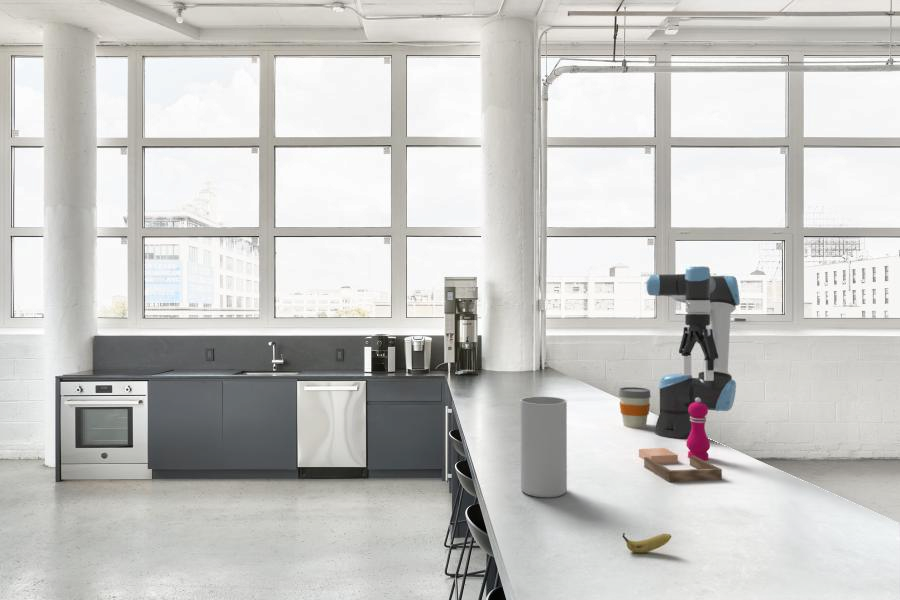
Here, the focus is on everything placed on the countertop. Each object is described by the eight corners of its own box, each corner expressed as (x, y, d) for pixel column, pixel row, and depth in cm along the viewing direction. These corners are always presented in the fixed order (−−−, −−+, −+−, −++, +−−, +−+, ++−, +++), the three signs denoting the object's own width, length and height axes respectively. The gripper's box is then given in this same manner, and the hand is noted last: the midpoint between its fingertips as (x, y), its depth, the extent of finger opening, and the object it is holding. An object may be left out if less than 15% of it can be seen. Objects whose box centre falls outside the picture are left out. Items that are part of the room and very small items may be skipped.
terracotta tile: (664, 456, 204) (664, 448, 204) (677, 464, 196) (677, 454, 196) (638, 457, 203) (638, 448, 203) (651, 465, 194) (651, 455, 194)
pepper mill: (685, 459, 200) (685, 398, 200) (687, 454, 206) (687, 395, 206) (708, 462, 196) (708, 400, 196) (710, 456, 203) (710, 396, 203)
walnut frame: (693, 464, 193) (693, 455, 193) (721, 479, 177) (721, 469, 177) (644, 466, 191) (644, 457, 191) (668, 482, 175) (668, 471, 175)
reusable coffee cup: (612, 424, 255) (612, 388, 255) (635, 421, 260) (635, 386, 260) (633, 430, 244) (633, 392, 244) (657, 427, 249) (657, 390, 249)
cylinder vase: (531, 500, 160) (531, 405, 160) (514, 486, 172) (513, 397, 172) (574, 496, 163) (574, 403, 163) (554, 482, 175) (554, 395, 175)
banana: (669, 550, 128) (669, 531, 128) (673, 555, 126) (672, 536, 126) (620, 549, 129) (620, 530, 129) (623, 554, 126) (623, 535, 126)
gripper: (668, 312, 213) (668, 373, 213) (707, 314, 188) (707, 383, 188) (688, 312, 214) (688, 372, 214) (730, 314, 189) (730, 382, 189)
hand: (697, 377), depth 201 cm, fingers open, 13 cm apart
